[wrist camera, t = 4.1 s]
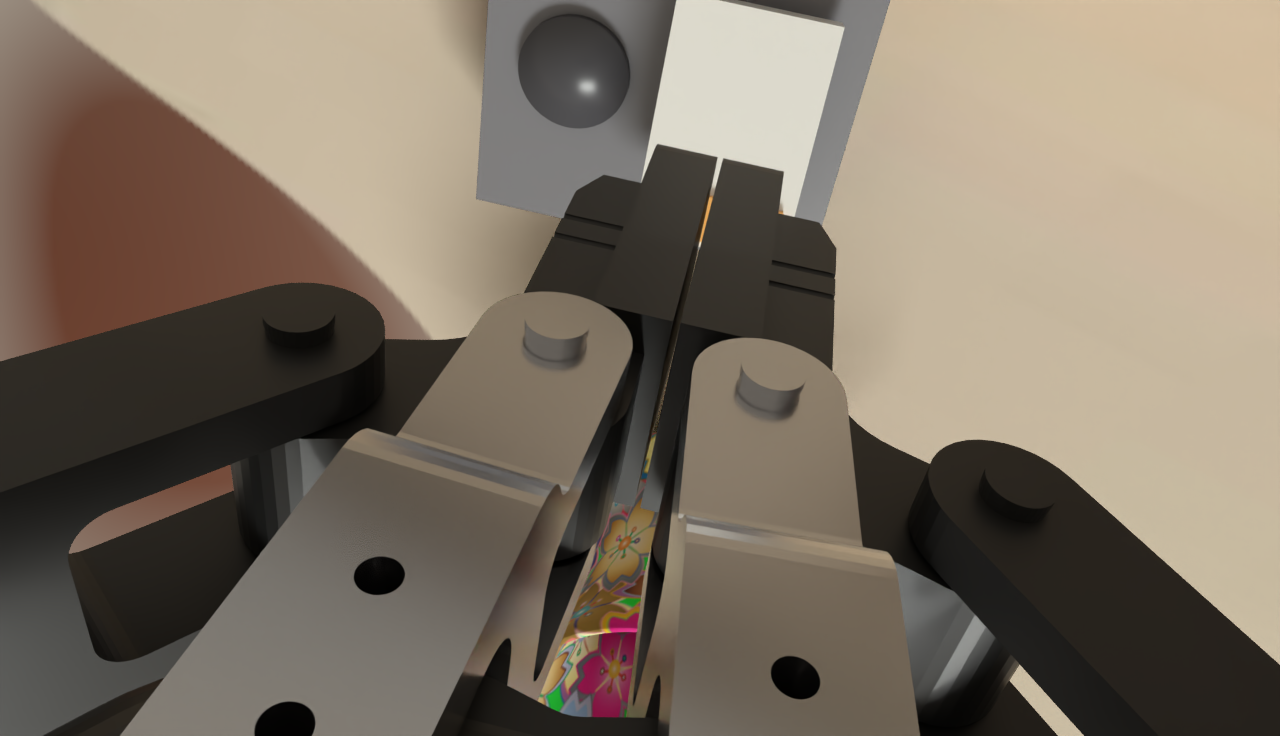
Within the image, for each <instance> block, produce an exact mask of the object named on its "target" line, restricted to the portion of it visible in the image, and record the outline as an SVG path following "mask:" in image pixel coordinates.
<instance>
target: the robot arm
mask: <svg viewBox="0 0 1280 736" xmlns="http://www.w3.org/2000/svg"><path fill="white" fill-rule="evenodd" d="M717 159H718V157H715V156H710V155H706V154H701V153H697V152H692V151H688V150H683V149H679V148H674V147H670V146H665V145H661V144H657V145H656V147H655V149H654V152H653V154H652V157H651V159H650V162H649V164H648V167H647V170H646V172H645V175H644V177H643V180H642V182H641V183H639V182H635V181H630V180H626V179H621V178H617V177H612V176H608V175H602V176H601V177H599V178H597V179H595V180H594V181H592V182H590V183H588V184H587V185H585V186H583V187H581V188H580V189H578V190H576V192H575V194H574V196H573V198H572V200H571V202H570V204H569V206H568V208H567V210H566V212H565V214H564V218H562V219H561V221H560V223H559V225H558V227H557V229H556V231H555V235H554V237H552V239H551V241H550V243H549V245H548V247H547V249H546V251H545V253H544V255H543V257H542V258H541V260H540V262H539V264H538V266H537V268H536V270H535V272H534V274H533V276H532V278H531V280H530V282H529V284H528V286H527V288H526V290H525V292H524V293H523V294H518V295H514V296H511V297H508V298H505V299H503V300H501V301H499V302H497V303H495V304H494V305H493V306H491V307H490V308H488V310H487V311H486V312H485V313H484V314H483V315H482V317H481V318H480V319H479V321H478V322H477V324H476V325H475V326H474V328H473V329H472V331H471V332H470V333H469V335H468V336H467V337H462V338H456V339H448V340H399V339H385V326H384V320H383V319H382V316H381V315H380V312H379V311H378V310H377V309H376V308H375V307H374V305H372V304H371V303H370V302H368V301H367V300H366V299H365V298H363V297H361V296H359V295H357V294H356V293H353V292H351V291H348V290H345V289H342V288H338V287H335V286H331V285H324V284H317V283H288V284H280V285H274V286H269V287H265V288H261V289H257V290H254V291H250V292H247V293H243V294H240V295H236V296H232V297H229V298H225V299H221V300H218V301H214V302H211V303H208V304H204V305H200V306H197V307H193V308H190V309H186V310H183V311H179V312H175V313H172V314H168V315H164V316H161V317H157V318H154V319H150V320H147V321H144V322H139V323H136V324H132V325H129V326H125V327H122V328H118V329H115V330H111V331H107V332H104V333H100V334H97V335H93V336H90V337H86V338H82V339H79V340H75V341H72V342H68V343H65V344H61V345H58V346H54V347H51V348H47V349H43V350H40V351H36V352H33V353H29V354H25V355H22V356H19V357H15V358H11V359H8V360H4V361H0V736H1058V735H1057V734H1056V733H1055V732H1054V731H1053V730H1052V729H1051V728H1050V726H1049V725H1048V724H1047V723H1046V722H1045V721H1044V720H1043V718H1042V717H1041V716H1040V715H1039V714H1038V713H1037V712H1036V711H1035V709H1034V708H1033V707H1032V706H1031V705H1030V704H1029V703H1028V701H1027V700H1026V699H1025V698H1024V697H1023V696H1022V695H1021V693H1020V692H1019V691H1018V690H1017V689H1016V688H1015V687H1014V686H1013V684H1012V683H1011V682H1010V681H1009V680H1010V679H1011V677H1012V675H1013V674H1014V672H1015V671H1016V669H1017V668H1018V666H1019V664H1020V665H1021V666H1022V667H1023V668H1024V670H1025V671H1026V672H1027V673H1028V674H1029V675H1030V676H1031V677H1032V678H1033V680H1034V681H1035V682H1036V683H1037V684H1038V685H1039V686H1040V687H1041V688H1042V689H1043V691H1044V692H1045V693H1046V694H1047V695H1048V696H1049V697H1050V698H1051V699H1052V701H1053V702H1054V703H1055V704H1056V705H1057V706H1058V707H1059V708H1060V709H1061V711H1062V712H1063V713H1064V714H1065V715H1066V716H1067V717H1068V718H1069V719H1070V721H1071V722H1072V723H1073V724H1074V725H1075V726H1076V727H1077V728H1078V729H1079V730H1080V732H1081V733H1082V734H1083V735H1084V736H1280V665H1279V664H1278V663H1277V662H1276V661H1275V660H1274V659H1273V658H1271V657H1270V656H1269V655H1268V654H1267V653H1266V652H1265V651H1264V650H1262V649H1261V648H1260V647H1259V646H1258V645H1257V644H1256V643H1255V642H1254V641H1252V640H1251V639H1250V638H1249V637H1248V636H1247V635H1246V634H1245V633H1243V632H1242V631H1241V630H1240V629H1239V628H1238V627H1237V626H1236V625H1235V624H1233V623H1232V622H1231V621H1230V620H1229V619H1228V618H1227V617H1226V616H1224V615H1223V614H1222V613H1221V612H1220V611H1219V610H1218V609H1217V608H1216V607H1214V606H1213V605H1212V604H1211V603H1210V602H1209V601H1208V600H1207V599H1205V598H1204V597H1203V596H1202V595H1201V594H1200V593H1199V592H1198V591H1197V590H1195V589H1194V588H1193V587H1192V586H1191V585H1190V584H1189V583H1188V582H1186V581H1185V580H1184V579H1183V578H1182V577H1181V576H1180V575H1179V574H1178V573H1176V572H1175V571H1174V570H1173V569H1172V568H1171V567H1170V566H1169V565H1167V564H1166V563H1165V562H1164V561H1163V560H1162V559H1161V558H1160V557H1159V556H1157V555H1156V554H1155V553H1154V552H1153V551H1152V550H1151V549H1150V548H1148V547H1147V546H1146V545H1145V544H1144V543H1143V542H1142V541H1141V540H1140V539H1138V538H1137V537H1136V536H1135V535H1134V534H1133V533H1132V532H1131V531H1129V530H1128V529H1127V528H1126V527H1125V526H1124V525H1123V524H1122V523H1121V522H1119V521H1118V520H1117V519H1116V518H1115V517H1114V516H1113V515H1112V514H1110V513H1109V512H1108V511H1107V510H1106V509H1105V508H1104V507H1103V506H1102V505H1100V504H1099V503H1098V502H1097V501H1096V500H1095V499H1094V498H1093V497H1091V496H1090V495H1089V494H1088V493H1087V492H1086V491H1085V490H1084V489H1083V488H1081V487H1080V486H1079V485H1078V484H1077V483H1076V482H1075V481H1074V480H1072V479H1071V478H1070V477H1069V476H1068V475H1066V474H1065V473H1064V472H1063V471H1061V470H1060V469H1059V468H1057V467H1056V466H1054V465H1053V464H1051V463H1050V462H1048V461H1047V460H1045V459H1043V458H1041V457H1039V456H1037V455H1035V454H1033V453H1031V452H1028V451H1026V450H1024V449H1021V448H1018V447H1015V446H1012V445H1009V444H1005V443H1000V442H995V441H988V440H966V441H961V442H956V443H953V444H951V445H948V446H946V447H944V448H943V449H942V450H940V451H939V452H938V453H937V454H936V455H935V456H934V458H933V459H932V461H931V463H930V464H928V463H926V462H924V461H922V460H920V459H918V458H916V457H913V456H911V455H909V454H907V453H905V452H903V451H901V450H898V449H896V448H894V447H892V446H890V445H888V444H886V443H885V442H883V441H881V440H879V439H878V438H876V437H874V436H873V435H871V434H870V433H868V432H867V431H866V430H864V429H863V428H862V427H861V426H859V425H858V424H857V423H856V422H855V421H854V420H853V419H852V418H851V417H850V416H849V415H848V405H847V398H846V393H845V390H844V388H843V386H842V384H841V382H840V381H839V379H838V378H837V377H836V375H835V374H834V373H833V372H832V361H833V331H834V302H835V300H834V296H835V279H834V277H835V272H836V247H835V246H834V244H833V243H832V241H831V240H830V238H829V237H828V235H827V234H826V232H825V231H824V229H823V228H822V226H821V224H820V223H819V222H815V221H811V220H806V219H802V218H797V217H793V216H788V215H784V214H779V205H780V198H781V191H782V184H783V176H784V171H779V170H775V169H770V168H766V167H761V166H757V165H752V164H748V163H743V162H739V161H734V160H729V159H725V158H723V161H722V164H721V168H720V172H719V176H718V180H717V184H716V188H715V191H714V195H713V199H712V203H711V207H710V211H709V215H708V219H707V222H706V226H705V230H704V234H703V238H702V242H701V246H700V249H699V253H698V257H697V261H696V256H697V252H698V247H699V242H700V238H701V233H702V229H703V224H704V220H705V215H706V210H707V206H708V201H709V197H710V192H711V188H712V183H713V178H714V174H715V169H716V164H717ZM695 261H696V265H695ZM694 265H695V269H694ZM693 270H694V273H693ZM692 274H693V277H692ZM691 279H692V280H691ZM690 283H691V284H690ZM675 345H676V346H675ZM674 349H675V351H674ZM673 352H674V355H673ZM672 356H673V360H672ZM671 360H672V364H671ZM670 364H671V369H670V373H669V378H668V383H667V387H666V392H665V396H664V401H663V406H662V410H661V415H660V419H659V424H658V429H657V433H656V438H655V442H654V447H653V451H652V456H651V461H650V465H649V470H648V474H647V479H646V484H645V488H644V493H643V497H642V502H641V507H640V508H642V509H646V510H650V511H654V512H659V513H658V517H657V522H656V526H655V531H654V535H653V540H652V544H651V549H650V553H649V557H648V561H647V566H646V570H645V574H644V579H643V587H642V595H641V603H640V611H639V619H638V627H637V635H636V643H635V650H634V658H633V666H632V674H631V682H630V690H629V698H628V706H627V714H626V717H579V716H571V715H567V714H563V713H561V712H558V711H556V710H554V709H552V708H550V707H548V706H546V705H544V704H542V703H540V702H538V699H539V697H540V694H541V692H542V689H543V686H544V684H545V681H546V679H547V676H548V674H549V671H550V669H551V666H552V664H553V661H554V659H555V656H556V654H557V651H558V649H559V646H560V644H561V641H562V638H563V636H564V633H565V631H566V628H567V626H568V623H569V621H570V618H571V616H572V613H573V611H574V608H575V606H576V603H577V601H578V598H579V595H580V593H581V590H582V588H583V585H584V583H585V580H586V578H587V575H588V573H589V570H590V568H591V565H592V562H593V558H594V553H595V548H596V543H597V541H598V540H599V538H600V537H601V536H602V534H603V532H604V530H605V527H606V525H607V521H608V518H609V514H610V511H611V507H612V504H613V502H615V503H619V504H624V505H628V506H632V507H634V504H635V500H636V496H637V492H638V488H639V484H640V480H641V476H642V473H643V469H644V465H645V461H646V457H647V453H648V449H649V445H650V442H651V438H652V434H653V430H654V426H655V422H656V418H657V414H658V411H659V407H660V403H661V399H662V395H663V391H664V387H665V383H666V380H667V376H668V372H669V368H670ZM230 464H231V471H232V479H233V487H234V491H232V492H229V493H227V494H225V495H222V496H219V497H217V498H214V499H212V500H209V501H207V502H204V503H202V504H199V505H197V506H194V507H192V508H189V509H187V510H184V511H182V512H179V513H176V514H174V515H172V516H169V517H166V518H164V519H162V520H159V521H157V522H154V523H151V524H149V525H146V526H144V527H141V528H139V529H136V530H134V531H132V532H129V533H126V534H124V535H121V536H119V537H116V538H114V539H111V540H109V541H107V542H104V543H102V544H99V545H96V546H94V547H91V548H89V549H86V550H83V551H80V552H76V553H72V554H69V550H70V547H71V544H72V543H73V541H74V539H75V537H76V536H77V535H78V534H79V532H80V531H81V530H82V529H83V528H84V527H85V526H86V525H87V524H89V523H90V522H91V521H93V520H94V519H95V518H97V517H99V516H100V515H102V514H104V513H106V512H108V511H110V510H113V509H115V508H117V507H120V506H123V505H125V504H128V503H131V502H133V501H136V500H139V499H141V498H144V497H146V496H149V495H152V494H154V493H157V492H159V491H162V490H165V489H167V488H170V487H173V486H175V485H178V484H181V483H183V482H186V481H188V480H191V479H194V478H196V477H199V476H201V475H204V474H207V473H209V472H211V471H214V470H217V469H220V468H222V467H225V466H227V465H230Z"/></svg>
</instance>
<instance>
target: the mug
mask: <svg viewBox="0 0 1280 736" xmlns="http://www.w3.org/2000/svg"><path fill="white" fill-rule="evenodd" d="M656 433H657V432H653V434H652V438H651V442H650V445H649V449H648V453H647V457H646V461H645V465H644V469H643V473H642V476H641V480H640V484H639V488H638V492H637V496H636V500H635V504H634V507H632V506H628V505H624V504H619V503H615V502H613V504H612V507H611V511H610V514H609V518H608V521H607V525H606V527H605V530H604V532H603V534H602V536H601V537H600V538H599V540H598V541H597V543H596V548H595V553H594V558H593V562H592V565H591V568H590V571H589V573H588V576H587V578H586V580H585V583H584V585H583V588H582V590H581V593H580V595H579V598H578V601H577V603H576V606H575V608H574V611H573V613H572V616H571V618H570V621H569V623H568V626H567V628H566V631H565V633H564V636H563V638H562V641H561V644H560V646H559V649H558V651H557V654H556V656H555V659H554V661H553V664H552V666H551V669H550V671H549V674H548V676H547V679H546V681H545V684H544V686H543V689H542V692H541V694H540V697H539V699H538V702H540V703H542V704H544V705H546V706H548V707H550V708H552V709H554V710H556V711H558V712H561V713H563V714H567V715H571V716H579V717H626V714H627V706H628V698H629V690H630V682H631V674H632V666H633V658H634V650H635V643H636V635H637V627H638V619H639V611H640V603H641V595H642V587H643V579H644V574H645V570H646V566H647V561H648V557H649V553H650V549H651V544H652V540H653V535H654V531H655V526H656V522H657V517H658V513H659V512H654V511H650V510H646V509H642V508H640V507H641V502H642V497H643V493H644V488H645V484H646V479H647V474H648V470H649V465H650V461H651V456H652V451H653V447H654V442H655V438H656Z"/></svg>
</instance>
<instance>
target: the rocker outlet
mask: <svg viewBox="0 0 1280 736" xmlns="http://www.w3.org/2000/svg"><path fill="white" fill-rule="evenodd" d="M844 28H845V27H844V25H843V23H842V22H837V21H833V20H828V19H823V18H819V17H814V16H809V15H805V14H800V13H795V12H791V11H786V10H781V9H777V8H772V7H767V6H763V5H758V4H753V3H749V2H744V1H739V0H676V5H675V10H674V15H673V20H672V25H671V31H670V36H669V41H668V46H667V51H666V56H665V62H664V67H663V72H662V77H661V82H660V87H659V92H658V98H657V103H656V108H655V113H654V118H653V123H652V129H651V134H650V139H649V144H648V149H647V154H646V160H645V165H644V170H643V175H642V180H643V177H644V175H645V172H646V170H647V167H648V164H649V162H650V159H651V157H652V154H653V152H654V149H655V147H656V145H657V144H661V145H665V146H670V147H674V148H679V149H683V150H688V151H692V152H697V153H701V154H706V155H710V156H715V157H718V159H717V164H716V169H715V174H714V178H713V183H712V188H711V192H710V197H709V201H708V206H707V210H706V215H705V220H704V224H703V229H702V233H701V238H700V242H699V247H700V246H701V242H702V238H703V234H704V230H705V226H706V222H707V219H708V215H709V211H710V207H711V203H712V199H713V195H714V191H715V188H716V184H717V180H718V176H719V172H720V168H721V164H722V161H723V158H725V159H729V160H734V161H739V162H743V163H748V164H752V165H757V166H761V167H766V168H770V169H775V170H779V171H784V176H783V184H782V191H781V198H780V205H779V214H784V215H788V216H793V217H795V213H796V209H797V205H798V202H799V198H800V194H801V190H802V186H803V183H804V179H805V175H806V171H807V168H808V164H809V160H810V156H811V153H812V149H813V145H814V141H815V138H816V134H817V130H818V126H819V122H820V119H821V115H822V111H823V107H824V104H825V100H826V96H827V92H828V89H829V85H830V81H831V77H832V74H833V70H834V66H835V62H836V58H837V55H838V51H839V47H840V43H841V40H842V36H843V32H844ZM642 180H641V182H642Z"/></svg>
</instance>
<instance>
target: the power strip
mask: <svg viewBox="0 0 1280 736" xmlns="http://www.w3.org/2000/svg"><path fill="white" fill-rule="evenodd" d="M739 1H744V2H749V3H753V4H758V5H763V6H767V7H772V8H777V9H781V10H786V11H791V12H795V13H800V14H805V15H809V16H814V17H819V18H823V19H828V20H833V21H837V22H842V23H843V25H844V27H845V28H844V32H843V36H842V40H841V43H840V47H839V51H838V55H837V58H836V62H835V66H834V70H833V74H832V77H831V81H830V85H829V89H828V92H827V96H826V100H825V104H824V107H823V111H822V115H821V119H820V122H819V126H818V130H817V134H816V138H815V141H814V145H813V149H812V153H811V156H810V160H809V164H808V168H807V171H806V175H805V179H804V183H803V186H802V190H801V194H800V198H799V202H798V205H797V209H796V213H795V217H797V218H802V219H806V220H811V221H815V222H819V223H820V224H821V226H822V223H823V220H824V217H825V213H826V210H827V207H828V204H829V200H830V197H831V194H832V190H833V187H834V184H835V181H836V177H837V174H838V171H839V167H840V164H841V161H842V158H843V154H844V151H845V148H846V144H847V141H848V138H849V134H850V131H851V128H852V125H853V121H854V118H855V115H856V111H857V108H858V105H859V102H860V98H861V95H862V92H863V88H864V85H865V82H866V79H867V75H868V72H869V69H870V65H871V62H872V59H873V55H874V52H875V49H876V46H877V42H878V39H879V36H880V32H881V29H882V26H883V23H884V19H885V16H886V13H887V9H888V6H889V3H890V0H739ZM675 5H676V0H488V14H487V30H486V47H485V63H484V79H483V96H482V112H481V128H480V144H479V161H478V177H477V193H476V199H478V200H483V201H487V202H492V203H496V204H500V205H505V206H509V207H514V208H518V209H522V210H527V211H531V212H536V213H540V214H544V215H549V216H553V217H558V218H564V214H565V212H566V210H567V208H568V206H569V204H570V202H571V200H572V198H573V196H574V194H575V192H576V190H578V189H580V188H581V187H583V186H585V185H587V184H588V183H590V182H592V181H594V180H595V179H597V178H599V177H601V176H602V175H608V176H612V177H617V178H621V179H626V180H630V181H635V182H639V183H641V180H642V175H643V170H644V165H645V160H646V154H647V149H648V144H649V139H650V134H651V129H652V123H653V118H654V113H655V108H656V103H657V98H658V92H659V87H660V82H661V77H662V72H663V67H664V62H665V56H666V51H667V46H668V41H669V36H670V31H671V25H672V20H673V15H674V10H675ZM699 249H700V247H698V250H699Z"/></svg>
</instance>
